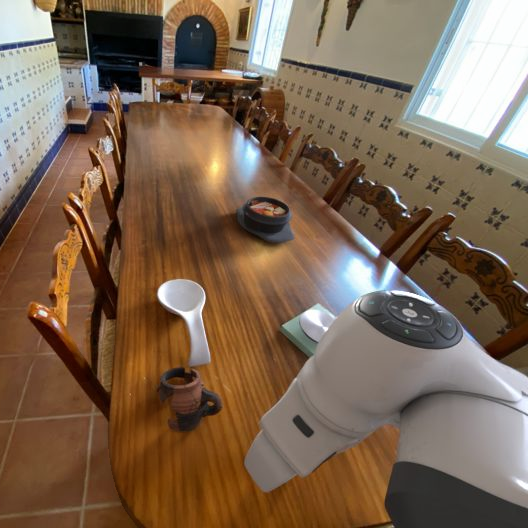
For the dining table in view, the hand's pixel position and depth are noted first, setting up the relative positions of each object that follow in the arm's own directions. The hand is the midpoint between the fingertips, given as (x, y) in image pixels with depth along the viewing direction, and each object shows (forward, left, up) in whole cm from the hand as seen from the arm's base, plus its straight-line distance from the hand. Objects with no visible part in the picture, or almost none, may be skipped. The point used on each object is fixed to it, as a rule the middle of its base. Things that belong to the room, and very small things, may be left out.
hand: (292, 445), depth 43 cm
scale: (+11, -29, -8) cm, 32 cm away
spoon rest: (+32, -4, -9) cm, 33 cm away
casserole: (+54, -53, -9) cm, 76 cm away
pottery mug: (+16, +7, -9) cm, 19 cm away
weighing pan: (+13, -28, -5) cm, 31 cm away
